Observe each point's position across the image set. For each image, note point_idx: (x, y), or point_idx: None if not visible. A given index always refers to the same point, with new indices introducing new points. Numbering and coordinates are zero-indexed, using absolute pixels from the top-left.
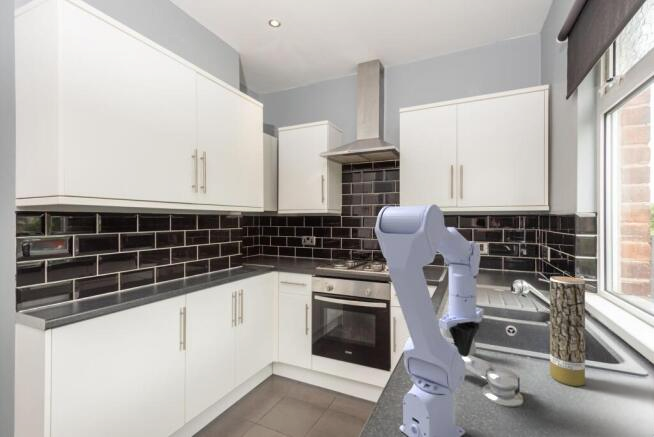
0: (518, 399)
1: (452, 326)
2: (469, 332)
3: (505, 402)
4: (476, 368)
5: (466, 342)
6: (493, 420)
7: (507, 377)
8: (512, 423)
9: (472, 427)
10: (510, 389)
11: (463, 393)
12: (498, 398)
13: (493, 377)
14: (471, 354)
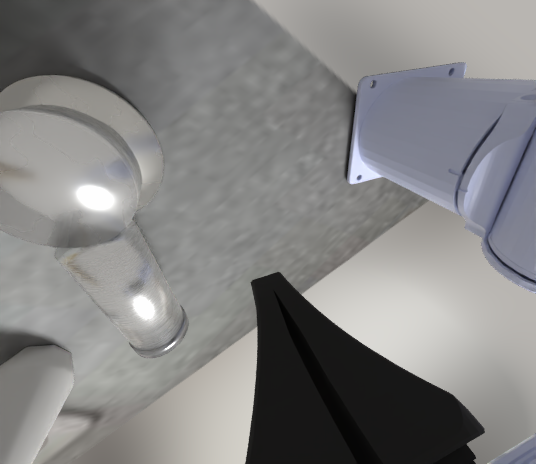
0: (39, 97)
1: (527, 444)
2: (410, 405)
3: (125, 111)
4: (148, 259)
5: (338, 327)
6: (243, 73)
7: (52, 153)
8: (196, 18)
9: (321, 87)
10: (79, 112)
11: (213, 212)
12: (132, 142)
13: (134, 184)
14: (26, 358)
